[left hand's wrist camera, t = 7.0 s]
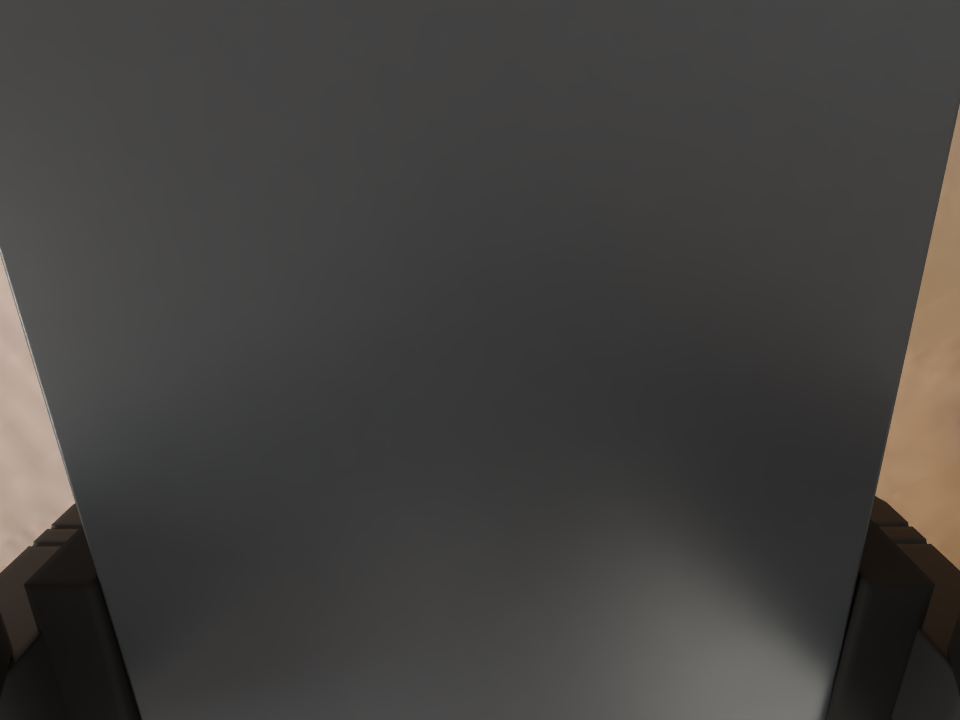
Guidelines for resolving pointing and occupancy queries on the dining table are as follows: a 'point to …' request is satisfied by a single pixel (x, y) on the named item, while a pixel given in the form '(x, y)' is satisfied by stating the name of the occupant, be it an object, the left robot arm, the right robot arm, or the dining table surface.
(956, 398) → the dining table surface
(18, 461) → the dining table surface
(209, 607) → the wide beam
